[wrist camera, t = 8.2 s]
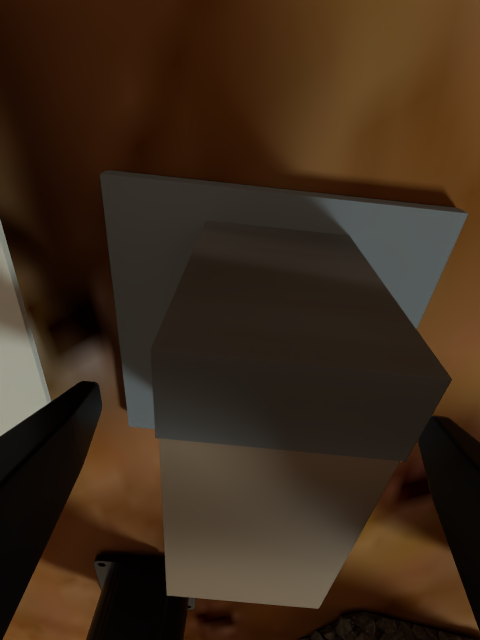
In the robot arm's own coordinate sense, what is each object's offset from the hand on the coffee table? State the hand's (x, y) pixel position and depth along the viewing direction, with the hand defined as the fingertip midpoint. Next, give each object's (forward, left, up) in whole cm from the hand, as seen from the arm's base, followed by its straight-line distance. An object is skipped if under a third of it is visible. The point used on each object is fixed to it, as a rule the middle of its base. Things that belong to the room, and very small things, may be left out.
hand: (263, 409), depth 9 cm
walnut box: (0, 0, -3) cm, 3 cm away
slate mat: (0, 0, -4) cm, 4 cm away
